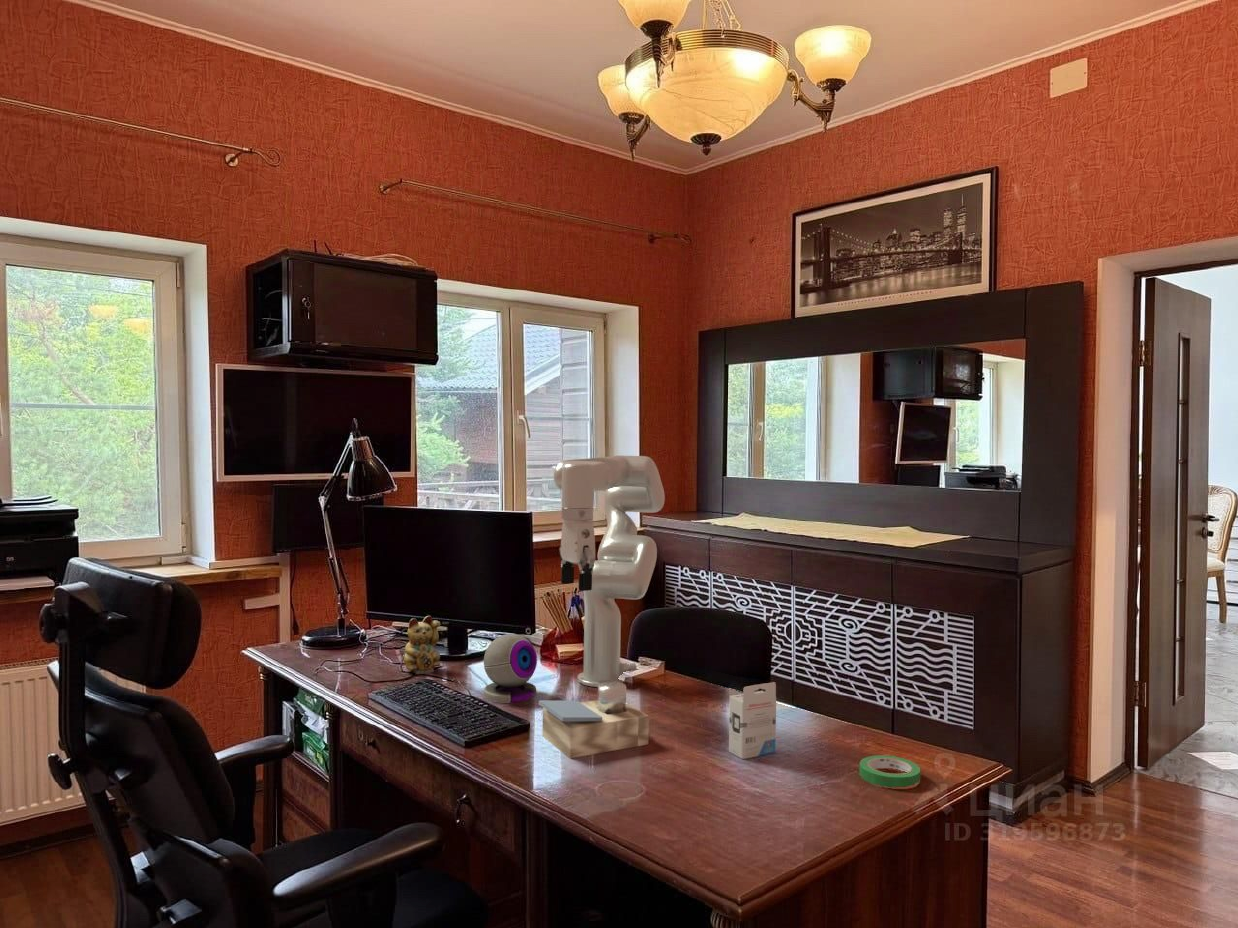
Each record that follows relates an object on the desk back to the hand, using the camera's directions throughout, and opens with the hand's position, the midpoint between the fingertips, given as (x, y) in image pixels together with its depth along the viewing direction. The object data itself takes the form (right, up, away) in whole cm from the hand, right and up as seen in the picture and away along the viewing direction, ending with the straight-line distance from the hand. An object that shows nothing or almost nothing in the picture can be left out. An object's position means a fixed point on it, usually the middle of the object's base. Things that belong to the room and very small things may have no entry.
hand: (576, 586), depth 202 cm
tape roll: (+62, -31, -39) cm, 80 cm away
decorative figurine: (-43, -27, +28) cm, 58 cm away
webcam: (-17, -28, +8) cm, 34 cm away
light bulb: (+9, -29, -20) cm, 36 cm away
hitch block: (+5, -29, -22) cm, 37 cm away
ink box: (+37, -30, -27) cm, 55 cm away
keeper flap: (0, -22, -25) cm, 34 cm away
